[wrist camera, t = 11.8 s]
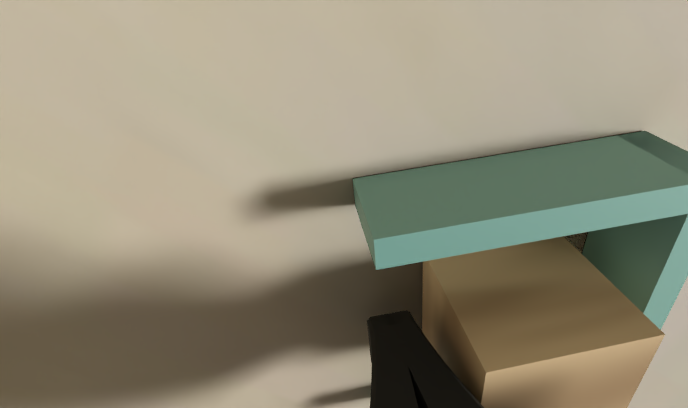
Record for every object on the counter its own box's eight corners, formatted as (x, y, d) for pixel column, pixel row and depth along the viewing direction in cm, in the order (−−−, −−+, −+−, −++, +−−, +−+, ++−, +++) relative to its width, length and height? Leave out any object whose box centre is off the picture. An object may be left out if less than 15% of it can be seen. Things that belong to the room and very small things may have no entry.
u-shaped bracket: (569, 358, 16) (614, 420, 14) (375, 397, 15) (391, 469, 13) (645, 130, 10) (738, 176, 8) (352, 179, 10) (373, 239, 8)
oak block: (532, 317, 14) (614, 432, 11) (422, 340, 14) (471, 464, 10) (553, 226, 12) (664, 334, 9) (423, 250, 12) (486, 372, 8)
